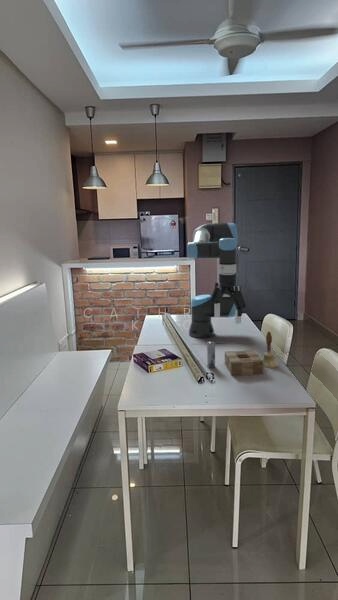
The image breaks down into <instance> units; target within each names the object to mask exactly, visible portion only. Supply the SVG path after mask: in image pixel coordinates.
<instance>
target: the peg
mask: <svg viewBox="0 0 338 600" xmlns="http://www.w3.org/2000/svg"><path fill="white" fill-rule="evenodd" d="M206 347H207V348H206V350H207V351H206V353H207V354H206V355H207V357H206V358H207V359H206V360H207V361H206V363H207V364H206V367H207V368H208V369H215V368H216V341H212V340H210V341H209V340H208V341H207V342H206Z"/></svg>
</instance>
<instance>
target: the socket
mask: <svg viewBox="0 0 338 600" xmlns="http://www.w3.org/2000/svg"><path fill="white" fill-rule="evenodd" d="M224 365H225V366H226V369H227V370H228V372H229V374H230V376H231V377H235V376H236V377H237V376H250V375H253V376H254V375H263V373H264V367H263V358H262V357H260V356H259V354H258V353H257V352H256V351H255V349H249V350H233V351H232V350H230V351H229V350H228V351H224Z"/></svg>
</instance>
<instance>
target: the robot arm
mask: <svg viewBox="0 0 338 600" xmlns="http://www.w3.org/2000/svg"><path fill="white" fill-rule="evenodd" d="M238 243H239V235H238V229H237V225H236V223H234V222H215V223H214V222H213V223H212V222H211V223H205V224H202V225H199V226H198V227H197V228H195V229H194V231H193V233H192V242H187V245H186V255H187V258H188V259H217V260H216V261H217V265H216V266H217V282H215V284H214V288H213V292H212V294H200V295H199V294H198V295H196V296H193V297H192V298H191V302H190V303H191V304H190V308H191V310H190V311H191V313H190V314H191V323H190V326H189V329H188V335H189V336H190V337H193V338H199V339H203V338H205V339H206V338H210V337H213V336H214V335H215V329H214V325H213V323H212V318H227V319H228V318H233V317H234V318H235V321H234V323H235V324H237V325H238V324H241V323H242V316H243V309H246V308H247V306H246V305H247V304H246V302H245V299H244V296H243V294H242V290H241V289H242V287H241V285H236V283H237V274H236V273H237V247H238V246H237V244H238Z"/></svg>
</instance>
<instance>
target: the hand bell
mask: <svg viewBox="0 0 338 600" xmlns="http://www.w3.org/2000/svg"><path fill="white" fill-rule="evenodd" d="M266 333H267V334H266V336H265V342H266V345H267V346H266V352H264V353H263V357H262V360H263V368H267V369H273V368H278V365H279V363H278V362H277V361H276V359H275V354H274V353H273V352H272V351H271V349H272V348H271V346H272V345H271V344H272V341H273V337H272V333H271V331H267V332H266Z"/></svg>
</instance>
